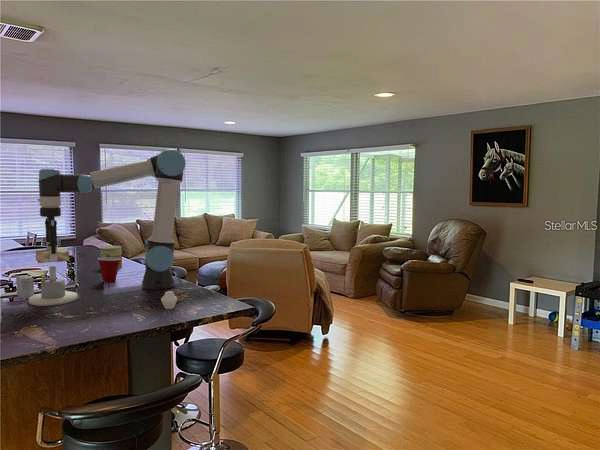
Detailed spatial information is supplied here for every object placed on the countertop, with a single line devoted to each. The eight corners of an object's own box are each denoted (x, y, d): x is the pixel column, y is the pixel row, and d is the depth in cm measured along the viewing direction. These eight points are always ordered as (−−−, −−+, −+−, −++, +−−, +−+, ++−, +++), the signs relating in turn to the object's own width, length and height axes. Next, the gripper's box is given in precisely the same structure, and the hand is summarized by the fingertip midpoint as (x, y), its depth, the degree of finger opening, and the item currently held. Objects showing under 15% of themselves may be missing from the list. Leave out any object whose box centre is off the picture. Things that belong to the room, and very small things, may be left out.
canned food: (96, 268, 254) (96, 248, 252) (108, 265, 265) (108, 245, 264) (115, 269, 252) (114, 248, 251) (126, 266, 263) (125, 246, 262)
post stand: (74, 292, 199) (73, 261, 198) (80, 301, 185) (79, 268, 183) (27, 297, 189) (25, 265, 188) (30, 308, 175) (28, 272, 173)
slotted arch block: (65, 257, 193) (65, 248, 193) (68, 261, 184) (68, 251, 184) (35, 259, 187) (35, 249, 187) (38, 263, 178) (37, 253, 177)
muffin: (178, 305, 182) (177, 288, 181) (176, 309, 176) (176, 292, 175) (162, 306, 181) (162, 289, 180) (160, 310, 175) (159, 292, 174)
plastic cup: (126, 280, 224) (125, 257, 223) (106, 284, 215) (106, 260, 214) (112, 278, 230) (112, 255, 229) (93, 281, 221) (92, 258, 220)
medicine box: (34, 297, 190) (33, 277, 189) (22, 299, 187) (21, 279, 186) (28, 294, 196) (27, 274, 195) (16, 296, 192) (15, 276, 192)
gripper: (37, 205, 191) (39, 256, 193) (42, 208, 172) (44, 264, 174) (57, 205, 195) (58, 254, 197) (64, 208, 176) (65, 263, 178)
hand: (51, 259), depth 185 cm, fingers closed on slotted arch block, 11 cm apart
